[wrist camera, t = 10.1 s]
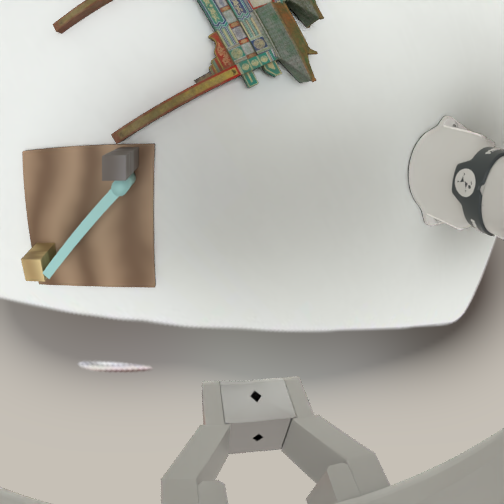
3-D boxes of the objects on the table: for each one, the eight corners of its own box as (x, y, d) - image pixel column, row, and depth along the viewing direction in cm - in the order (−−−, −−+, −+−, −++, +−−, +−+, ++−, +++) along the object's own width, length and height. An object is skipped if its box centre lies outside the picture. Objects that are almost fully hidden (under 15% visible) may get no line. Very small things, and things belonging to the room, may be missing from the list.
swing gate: (138, 177, 35) (131, 187, 30) (63, 262, 37) (50, 281, 32) (128, 167, 34) (119, 175, 29) (54, 253, 36) (39, 272, 31)
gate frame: (154, 143, 35) (144, 151, 27) (155, 284, 42) (150, 323, 34) (25, 150, 31) (-11, 162, 23) (41, 281, 38) (17, 316, 30)
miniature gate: (37, 1, 20) (264, -103, 17) (55, 10, 25) (257, -84, 22) (129, 175, 32) (366, 62, 30) (139, 165, 37) (347, 66, 35)
